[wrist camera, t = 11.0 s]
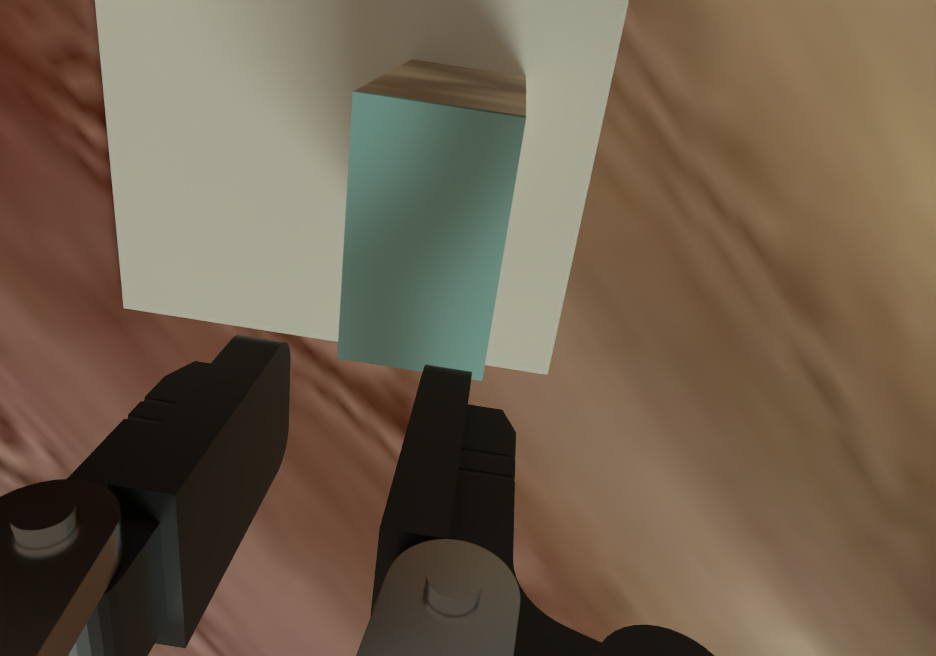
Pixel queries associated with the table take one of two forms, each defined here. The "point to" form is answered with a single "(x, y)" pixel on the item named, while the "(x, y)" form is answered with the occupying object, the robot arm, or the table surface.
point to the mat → (329, 148)
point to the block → (428, 214)
